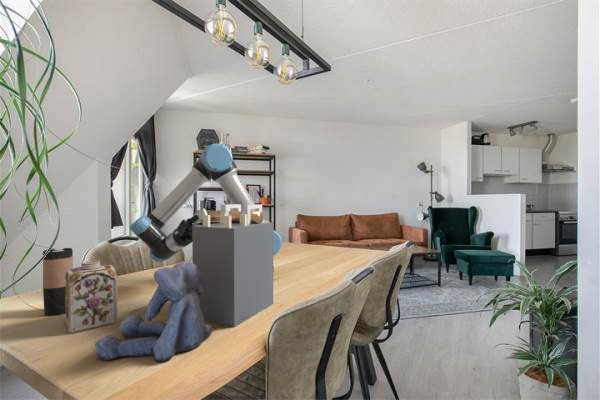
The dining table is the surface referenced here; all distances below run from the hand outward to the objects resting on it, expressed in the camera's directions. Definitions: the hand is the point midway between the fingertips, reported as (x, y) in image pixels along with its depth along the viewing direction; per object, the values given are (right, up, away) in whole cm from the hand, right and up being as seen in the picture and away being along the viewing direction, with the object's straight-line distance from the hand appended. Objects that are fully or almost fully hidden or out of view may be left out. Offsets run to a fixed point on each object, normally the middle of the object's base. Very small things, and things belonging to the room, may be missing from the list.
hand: (218, 211), depth 110 cm
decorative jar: (-32, -32, -19) cm, 50 cm away
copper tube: (+4, -3, -1) cm, 6 cm away
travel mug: (-48, -32, -11) cm, 59 cm away
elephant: (-7, -33, -31) cm, 46 cm away
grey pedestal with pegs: (+8, -32, -10) cm, 34 cm away
